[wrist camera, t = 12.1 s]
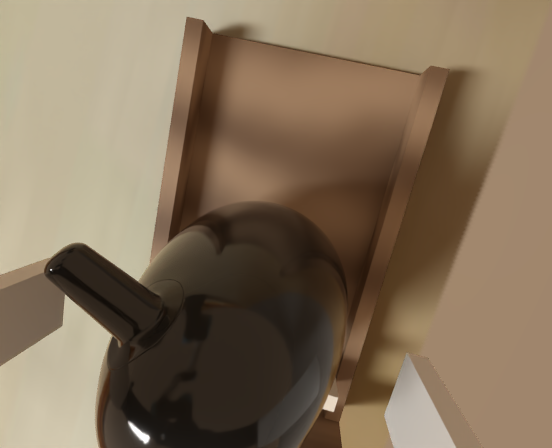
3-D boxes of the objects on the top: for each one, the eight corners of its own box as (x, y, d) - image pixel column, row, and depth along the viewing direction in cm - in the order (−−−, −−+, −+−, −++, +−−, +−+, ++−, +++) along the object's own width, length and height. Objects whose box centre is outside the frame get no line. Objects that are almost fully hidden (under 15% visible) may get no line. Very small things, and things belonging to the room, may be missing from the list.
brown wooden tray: (201, 35, 20) (156, -21, 14) (431, 82, 19) (486, 42, 13) (150, 355, 24) (99, 413, 19) (332, 406, 23) (339, 485, 18)
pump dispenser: (283, 165, 20) (215, 104, 5) (367, 293, 21) (531, 580, 6) (164, 246, 22) (-157, 384, 7) (245, 364, 22) (118, 739, 7)
